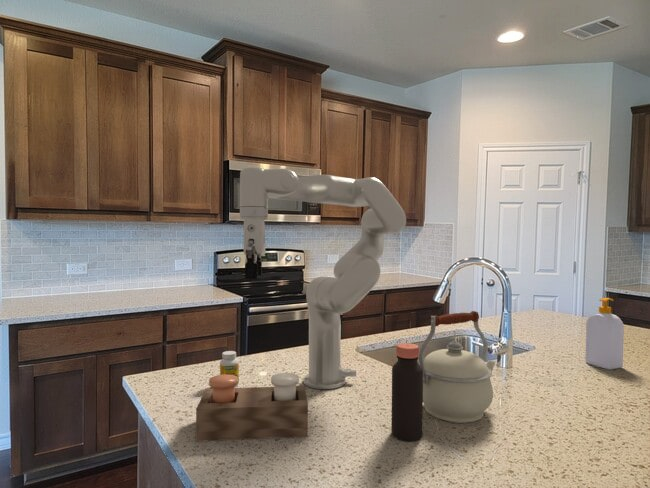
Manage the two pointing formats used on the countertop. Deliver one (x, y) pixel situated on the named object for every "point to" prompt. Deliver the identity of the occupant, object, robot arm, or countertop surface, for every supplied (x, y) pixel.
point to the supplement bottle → (229, 364)
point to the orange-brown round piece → (223, 388)
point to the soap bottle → (604, 338)
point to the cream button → (285, 386)
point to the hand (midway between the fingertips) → (253, 277)
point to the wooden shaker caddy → (252, 416)
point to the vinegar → (407, 394)
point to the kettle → (456, 376)
